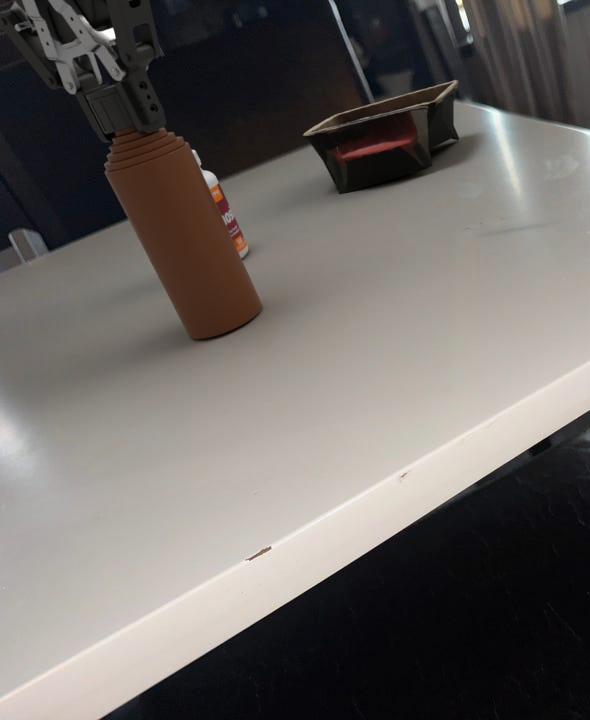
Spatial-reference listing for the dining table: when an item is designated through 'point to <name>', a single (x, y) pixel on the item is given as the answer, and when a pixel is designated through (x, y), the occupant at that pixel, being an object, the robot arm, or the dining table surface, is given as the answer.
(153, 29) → the robot arm
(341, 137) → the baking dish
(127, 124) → the cap
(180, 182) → the sauce bottle
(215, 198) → the pill bottle
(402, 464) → the dining table surface
